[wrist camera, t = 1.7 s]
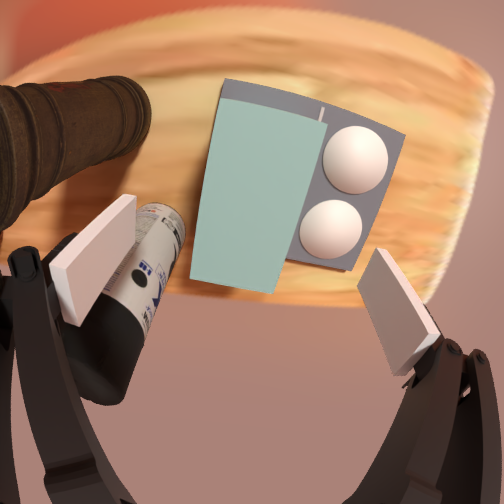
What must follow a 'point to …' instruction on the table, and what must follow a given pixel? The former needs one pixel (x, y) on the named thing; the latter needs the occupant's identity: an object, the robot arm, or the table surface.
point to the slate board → (334, 175)
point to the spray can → (124, 309)
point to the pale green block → (253, 193)
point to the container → (63, 133)
